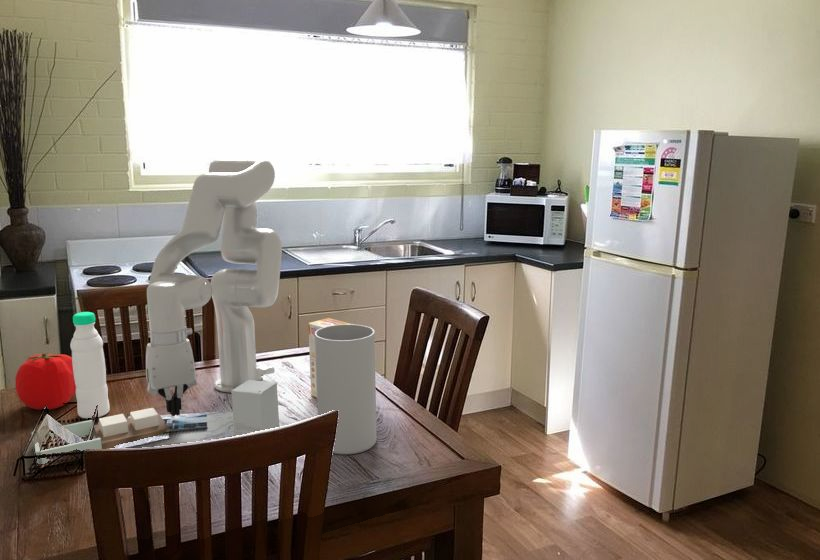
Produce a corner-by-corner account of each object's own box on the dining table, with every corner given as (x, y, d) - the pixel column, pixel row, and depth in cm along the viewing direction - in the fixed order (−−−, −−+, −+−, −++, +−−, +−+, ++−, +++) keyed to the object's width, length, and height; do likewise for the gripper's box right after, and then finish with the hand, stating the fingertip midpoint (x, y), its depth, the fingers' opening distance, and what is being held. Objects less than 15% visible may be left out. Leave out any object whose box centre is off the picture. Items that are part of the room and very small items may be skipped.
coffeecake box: (370, 402, 174) (368, 327, 170) (349, 411, 169) (347, 333, 165) (331, 388, 184) (328, 317, 180) (309, 395, 179) (307, 322, 175)
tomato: (37, 421, 164) (30, 366, 162) (5, 409, 172) (-2, 356, 169) (97, 400, 177) (91, 348, 175) (65, 390, 185) (59, 340, 182)
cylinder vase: (341, 426, 160) (338, 321, 155) (387, 438, 154) (385, 329, 149) (307, 447, 149) (302, 335, 144) (355, 461, 143) (352, 344, 138)
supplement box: (281, 435, 156) (278, 382, 153) (263, 449, 149) (260, 393, 146) (252, 431, 158) (249, 378, 155) (233, 445, 151) (230, 389, 148)
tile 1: (123, 424, 157) (122, 413, 156) (128, 431, 152) (127, 421, 152) (99, 429, 154) (98, 418, 153) (103, 437, 150) (102, 426, 149)
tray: (93, 434, 157) (92, 419, 156) (102, 454, 147) (100, 438, 146) (33, 447, 151) (31, 431, 150) (38, 469, 141) (36, 452, 140)
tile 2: (154, 417, 160) (153, 407, 159) (159, 425, 156) (158, 414, 155) (131, 422, 157) (129, 412, 157) (135, 430, 153) (134, 419, 153)
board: (158, 421, 164) (157, 412, 163) (170, 438, 155) (169, 428, 154) (93, 435, 156) (92, 425, 156) (102, 454, 147) (101, 443, 147)
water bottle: (98, 420, 165) (87, 318, 159) (71, 418, 166) (59, 316, 161) (116, 409, 171) (106, 310, 166) (90, 407, 173) (80, 309, 168)
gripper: (197, 327, 163) (202, 402, 167) (129, 337, 155) (136, 415, 159) (206, 335, 157) (211, 412, 160) (136, 346, 149) (144, 426, 153)
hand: (174, 413), depth 160 cm, fingers closed
